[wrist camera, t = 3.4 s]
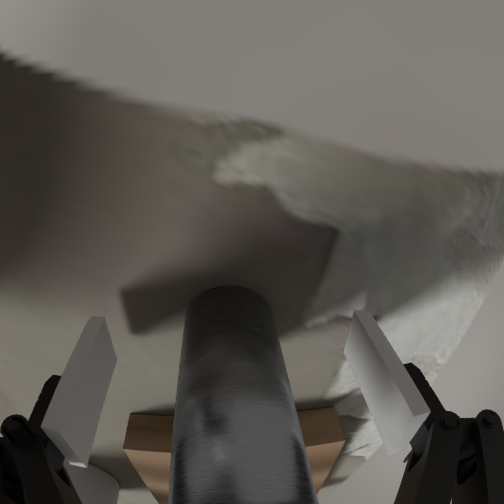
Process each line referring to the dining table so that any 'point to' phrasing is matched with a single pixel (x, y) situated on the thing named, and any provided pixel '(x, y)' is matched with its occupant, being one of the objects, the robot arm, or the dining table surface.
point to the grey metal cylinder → (235, 408)
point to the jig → (160, 444)
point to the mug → (93, 484)
